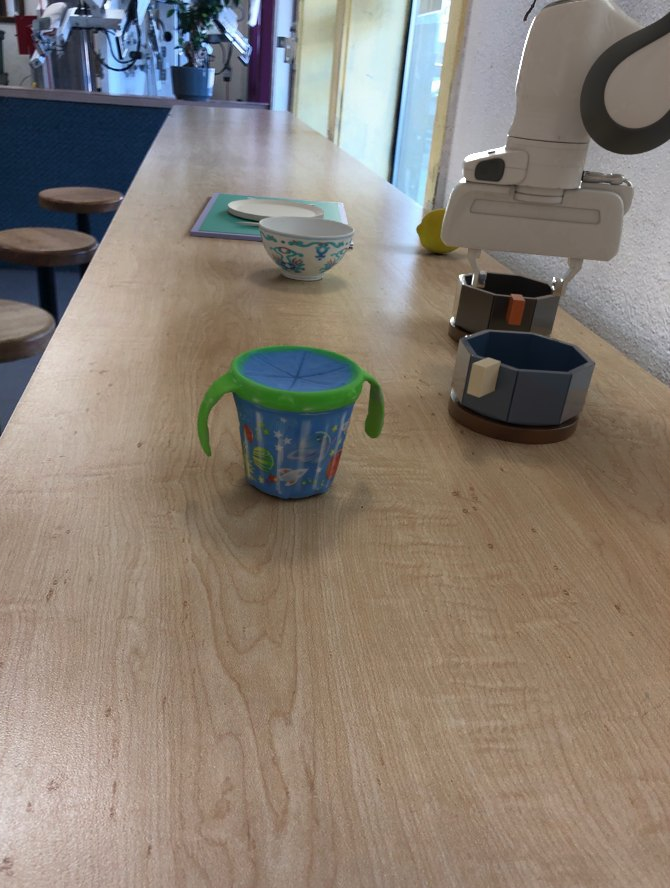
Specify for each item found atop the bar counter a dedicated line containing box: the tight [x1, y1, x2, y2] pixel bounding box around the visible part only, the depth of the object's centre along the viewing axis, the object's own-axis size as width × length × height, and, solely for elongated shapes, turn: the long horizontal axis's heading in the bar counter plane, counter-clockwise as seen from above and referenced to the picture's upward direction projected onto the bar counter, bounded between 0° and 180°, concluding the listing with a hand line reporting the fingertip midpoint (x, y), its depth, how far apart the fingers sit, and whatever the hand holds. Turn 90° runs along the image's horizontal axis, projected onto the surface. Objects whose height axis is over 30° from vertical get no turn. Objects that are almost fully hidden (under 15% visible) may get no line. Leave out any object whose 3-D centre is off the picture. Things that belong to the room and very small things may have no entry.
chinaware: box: [259, 216, 355, 282], centre depth 125 cm, size 15×15×8 cm
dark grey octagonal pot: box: [451, 270, 561, 336], centre depth 102 cm, size 15×12×6 cm
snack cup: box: [196, 344, 385, 500], centre depth 64 cm, size 16×10×10 cm
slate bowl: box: [450, 330, 596, 426], centre depth 79 cm, size 15×12×6 cm
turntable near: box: [447, 388, 580, 445], centre depth 82 cm, size 13×13×2 cm
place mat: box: [189, 192, 354, 247], centre depth 166 cm, size 45×30×2 cm
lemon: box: [415, 207, 460, 255], centre depth 148 cm, size 11×8×8 cm
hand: (517, 290), depth 95 cm, fingers open, 8 cm apart
